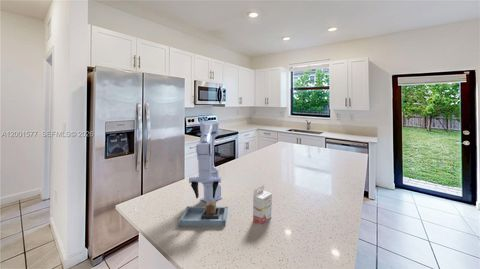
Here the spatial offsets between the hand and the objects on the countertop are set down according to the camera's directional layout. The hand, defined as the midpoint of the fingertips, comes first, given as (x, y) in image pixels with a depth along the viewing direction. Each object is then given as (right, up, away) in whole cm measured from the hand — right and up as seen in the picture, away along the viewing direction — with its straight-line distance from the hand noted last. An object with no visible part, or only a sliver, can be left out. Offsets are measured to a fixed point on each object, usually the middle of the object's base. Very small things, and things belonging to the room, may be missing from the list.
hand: (205, 197), depth 97 cm
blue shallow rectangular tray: (0, -10, 0) cm, 10 cm away
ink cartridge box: (+26, -10, -1) cm, 28 cm away
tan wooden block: (+3, -9, 0) cm, 10 cm away
